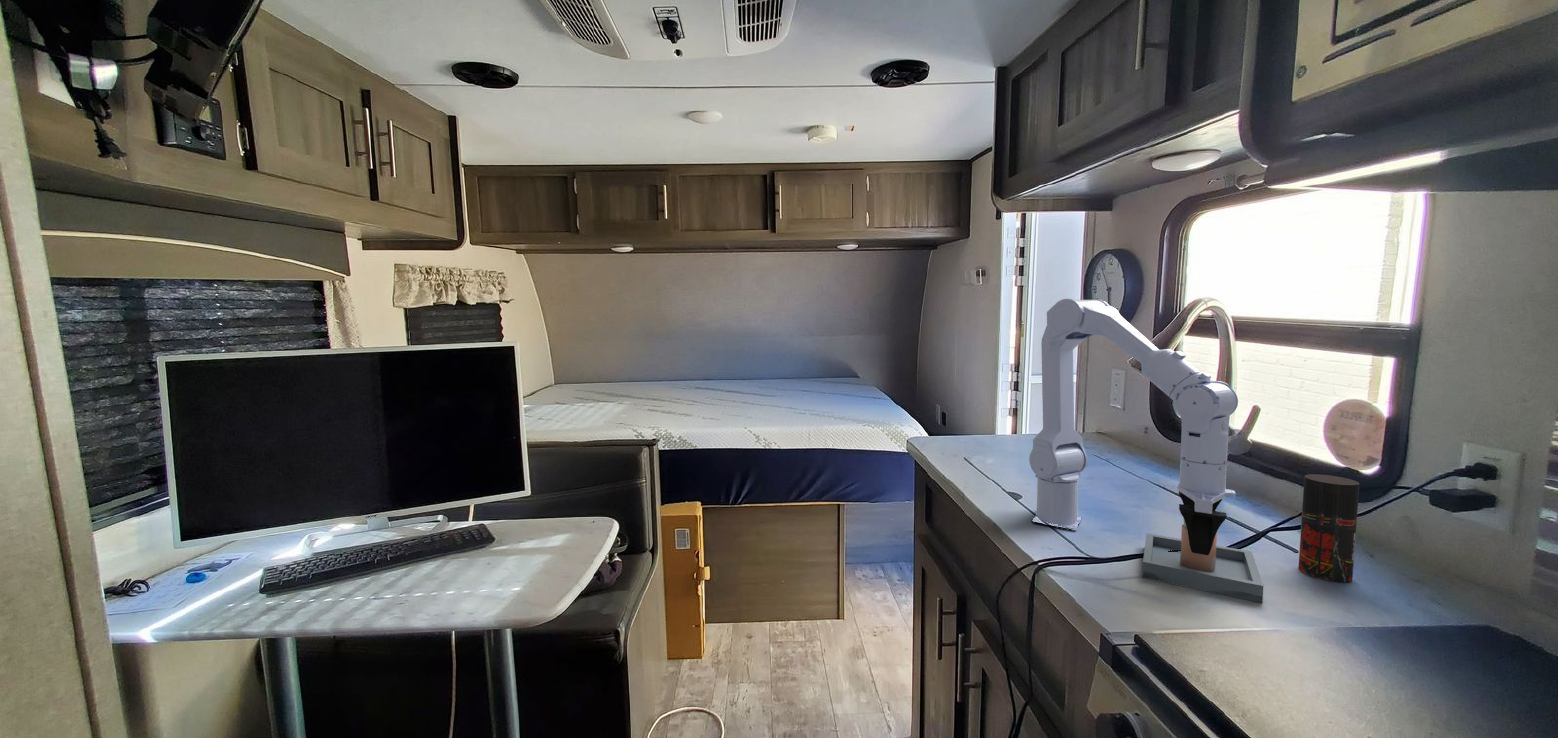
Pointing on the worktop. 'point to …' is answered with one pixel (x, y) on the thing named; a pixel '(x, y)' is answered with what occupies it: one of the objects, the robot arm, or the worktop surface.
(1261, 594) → the tray
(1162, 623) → the worktop surface
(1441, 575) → the worktop surface
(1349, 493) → the deodorant
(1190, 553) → the shaker
